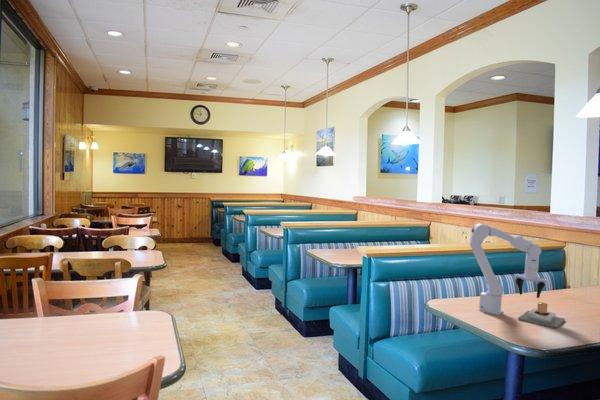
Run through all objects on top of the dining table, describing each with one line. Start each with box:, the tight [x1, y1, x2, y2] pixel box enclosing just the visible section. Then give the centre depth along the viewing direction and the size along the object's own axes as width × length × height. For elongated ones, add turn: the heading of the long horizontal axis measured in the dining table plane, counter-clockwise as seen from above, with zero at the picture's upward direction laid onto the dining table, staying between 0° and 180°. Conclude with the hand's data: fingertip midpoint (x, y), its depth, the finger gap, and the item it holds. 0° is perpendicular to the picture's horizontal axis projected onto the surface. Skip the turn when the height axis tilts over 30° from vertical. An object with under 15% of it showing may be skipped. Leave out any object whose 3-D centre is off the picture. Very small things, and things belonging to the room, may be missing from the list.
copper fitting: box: [536, 302, 548, 316], centre depth 213 cm, size 4×4×7 cm
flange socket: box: [517, 308, 566, 330], centre depth 213 cm, size 16×16×4 cm
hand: (529, 295), depth 220 cm, fingers open, 7 cm apart
